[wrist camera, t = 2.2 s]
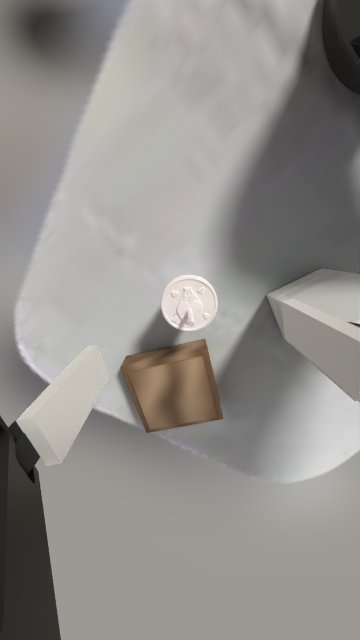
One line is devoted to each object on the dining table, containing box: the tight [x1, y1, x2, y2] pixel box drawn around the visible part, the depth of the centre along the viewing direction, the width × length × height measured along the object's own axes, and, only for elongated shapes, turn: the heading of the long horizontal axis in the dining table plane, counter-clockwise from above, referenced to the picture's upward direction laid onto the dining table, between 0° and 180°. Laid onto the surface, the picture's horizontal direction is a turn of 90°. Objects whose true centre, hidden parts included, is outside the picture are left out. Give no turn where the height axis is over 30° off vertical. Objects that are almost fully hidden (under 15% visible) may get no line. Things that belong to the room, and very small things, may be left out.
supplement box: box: [267, 268, 360, 401], centre depth 25 cm, size 9×9×15 cm
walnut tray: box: [121, 339, 223, 433], centre depth 35 cm, size 14×14×4 cm
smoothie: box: [161, 275, 218, 332], centre depth 25 cm, size 6×6×14 cm
